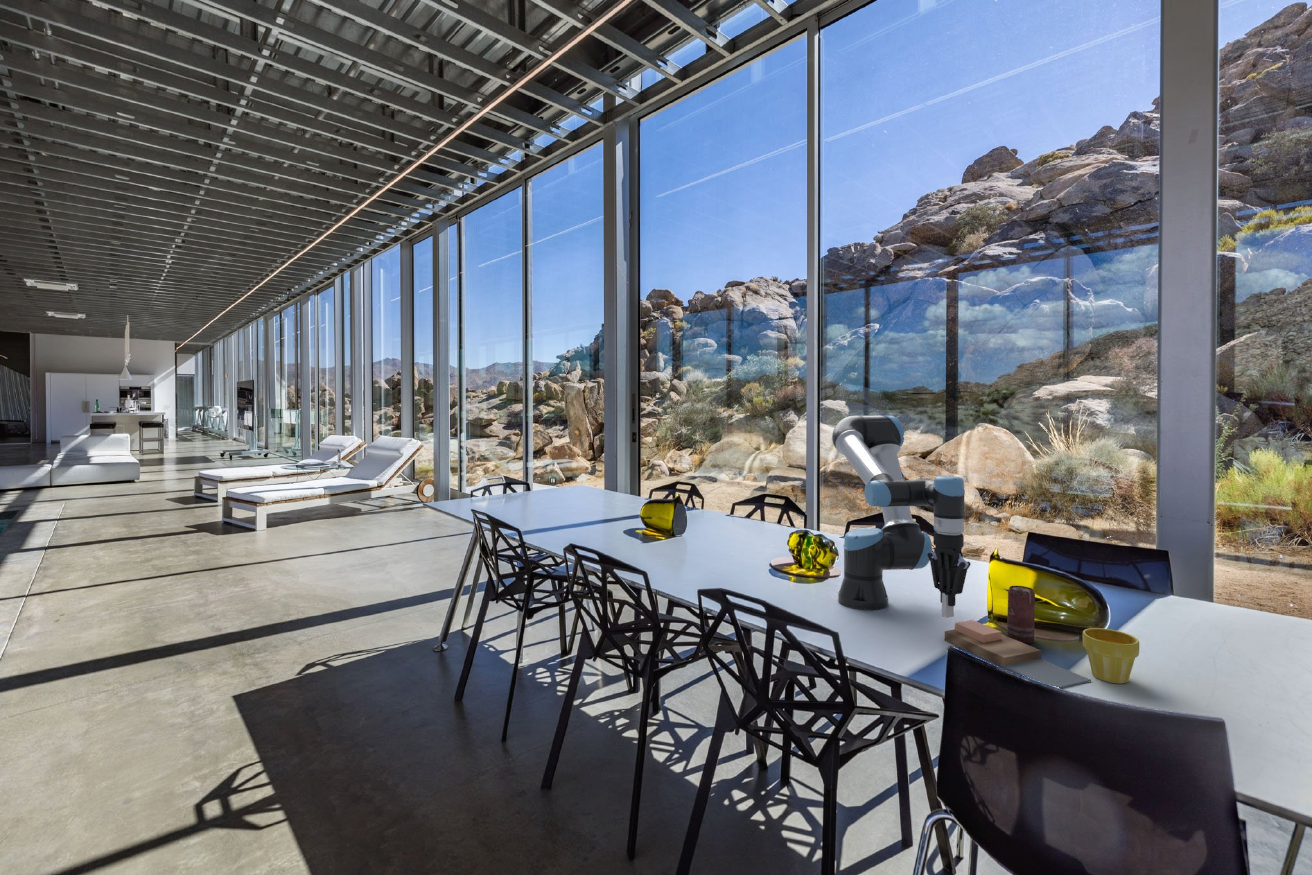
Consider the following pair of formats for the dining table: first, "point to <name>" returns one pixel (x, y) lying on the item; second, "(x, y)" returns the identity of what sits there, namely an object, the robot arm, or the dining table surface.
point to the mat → (1047, 673)
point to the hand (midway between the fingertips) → (947, 616)
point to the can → (1021, 614)
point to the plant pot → (1110, 653)
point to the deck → (995, 648)
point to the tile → (978, 631)
